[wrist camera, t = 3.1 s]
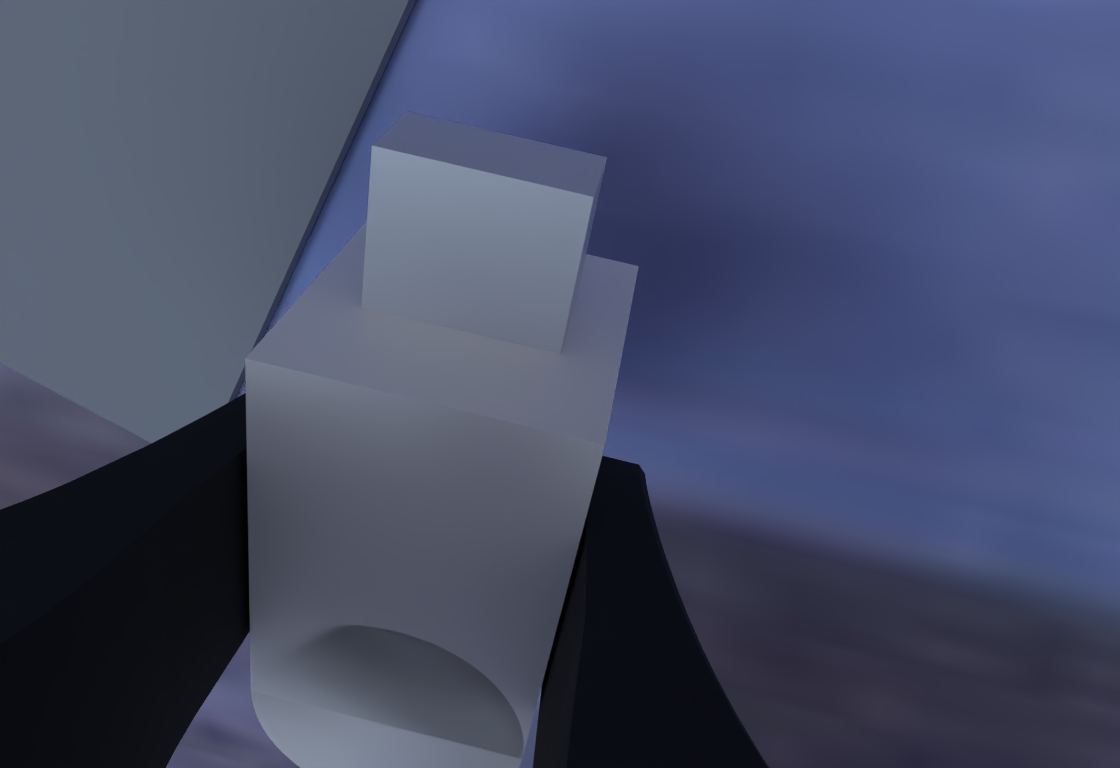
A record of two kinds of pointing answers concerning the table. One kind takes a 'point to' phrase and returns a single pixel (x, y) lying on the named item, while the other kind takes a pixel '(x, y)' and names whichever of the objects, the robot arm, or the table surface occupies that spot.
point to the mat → (167, 185)
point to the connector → (430, 454)
